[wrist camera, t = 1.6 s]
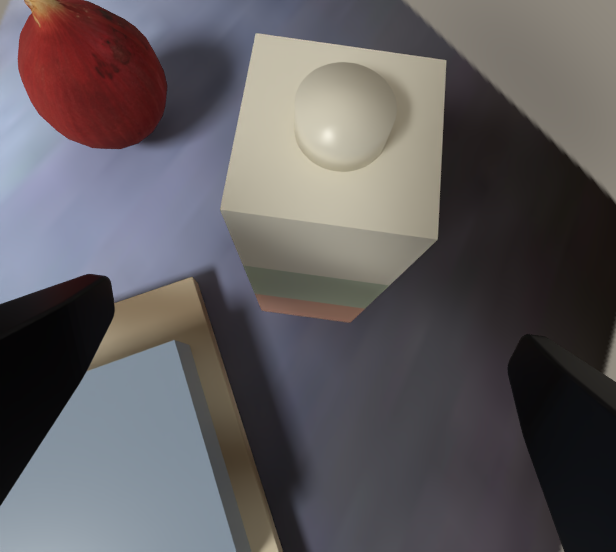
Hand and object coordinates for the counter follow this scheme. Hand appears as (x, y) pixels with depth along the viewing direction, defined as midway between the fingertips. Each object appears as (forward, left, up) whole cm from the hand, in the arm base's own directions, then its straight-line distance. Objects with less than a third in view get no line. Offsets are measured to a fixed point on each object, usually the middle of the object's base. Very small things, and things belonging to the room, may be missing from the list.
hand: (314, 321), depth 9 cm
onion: (+15, +5, -11) cm, 19 cm away
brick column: (+4, -2, -11) cm, 11 cm away
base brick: (-2, +9, -10) cm, 13 cm away
